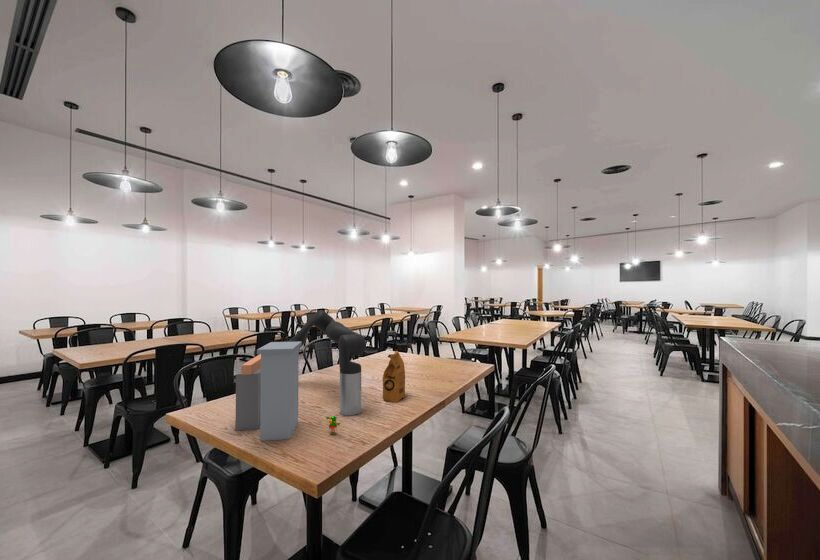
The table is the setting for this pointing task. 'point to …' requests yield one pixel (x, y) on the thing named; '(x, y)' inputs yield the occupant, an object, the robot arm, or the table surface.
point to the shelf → (248, 400)
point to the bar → (251, 365)
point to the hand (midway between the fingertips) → (268, 350)
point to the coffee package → (394, 379)
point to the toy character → (333, 423)
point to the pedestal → (279, 390)
